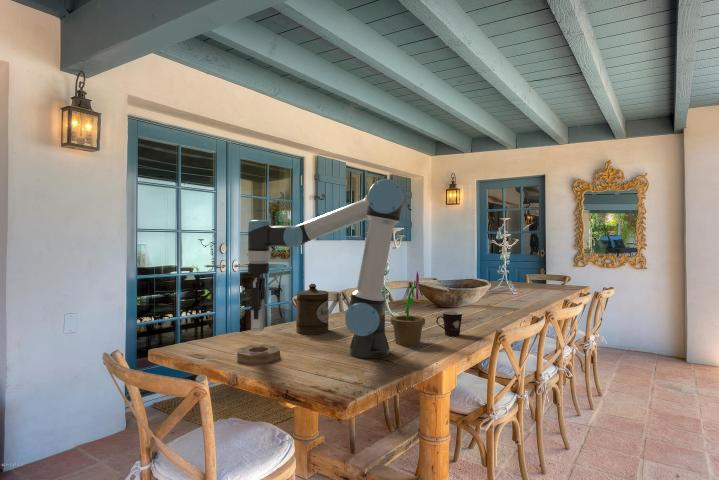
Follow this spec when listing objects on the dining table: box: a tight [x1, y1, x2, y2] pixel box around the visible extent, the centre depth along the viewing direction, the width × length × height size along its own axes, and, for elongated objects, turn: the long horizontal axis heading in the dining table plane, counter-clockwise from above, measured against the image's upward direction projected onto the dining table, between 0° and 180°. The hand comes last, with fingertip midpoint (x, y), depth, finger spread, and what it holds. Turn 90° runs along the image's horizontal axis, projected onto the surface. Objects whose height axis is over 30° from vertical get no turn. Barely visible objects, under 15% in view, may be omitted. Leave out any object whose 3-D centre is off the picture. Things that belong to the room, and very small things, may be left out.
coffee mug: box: [436, 310, 463, 338], centre depth 203 cm, size 12×9×10 cm
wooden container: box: [295, 283, 329, 335], centre depth 210 cm, size 15×15×22 cm
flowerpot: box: [390, 271, 426, 347], centre depth 188 cm, size 14×14×30 cm
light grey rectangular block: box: [250, 299, 266, 332], centre depth 165 cm, size 4×4×11 cm
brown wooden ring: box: [236, 343, 281, 365], centre depth 165 cm, size 15×15×3 cm
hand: (257, 326), depth 165 cm, fingers closed on light grey rectangular block, 4 cm apart
